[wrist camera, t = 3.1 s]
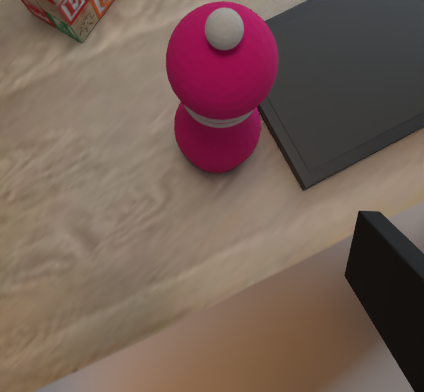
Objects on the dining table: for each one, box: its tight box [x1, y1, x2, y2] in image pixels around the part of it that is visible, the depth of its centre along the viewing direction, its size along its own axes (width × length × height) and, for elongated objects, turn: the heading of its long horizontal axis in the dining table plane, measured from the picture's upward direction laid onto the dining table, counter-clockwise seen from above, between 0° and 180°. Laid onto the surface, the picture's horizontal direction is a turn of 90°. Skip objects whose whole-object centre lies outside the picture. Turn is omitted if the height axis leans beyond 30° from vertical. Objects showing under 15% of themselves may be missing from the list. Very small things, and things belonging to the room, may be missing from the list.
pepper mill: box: [166, 2, 278, 173], centre depth 26 cm, size 7×7×20 cm
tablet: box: [257, 0, 424, 190], centre depth 36 cm, size 22×16×1 cm
